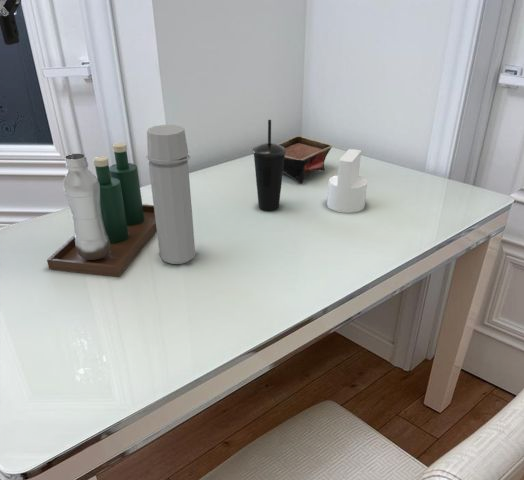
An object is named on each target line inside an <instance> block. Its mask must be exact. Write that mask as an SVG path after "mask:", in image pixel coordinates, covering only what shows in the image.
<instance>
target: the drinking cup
mask: <svg viewBox="0 0 524 480" xmlns="http://www.w3.org/2000/svg"><path fill="white" fill-rule="evenodd" d="M278 144H279V143H275V142H274V143H272V119H268V120H267V142H266V143H261V144H259V145H256V146H254V147H252V150H251V151H252V154H253V162H254V169H255V181H256V193H257V204H258V209H259V210H261V211H264V212H274V211H277V210H279V208H280V202H281V201H280V199H281V191H282V183H283V174H284V172H283V166H284V157H285V154H286V148H284V147H282V146H280V145H278Z"/></svg>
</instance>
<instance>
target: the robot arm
mask: <svg viewBox="0 0 524 480" xmlns="http://www.w3.org/2000/svg"><path fill="white" fill-rule="evenodd" d="M21 3H22V0H0V14H1V15H0V30H1V34H2V38H3V42H4V44H5V45H7V46H11V45H15V44H18V43H20V38H19V36H20V35H19V29H18V25H17V20H16V17H15V15H17V13H18V8H19V6H20V5H21Z"/></svg>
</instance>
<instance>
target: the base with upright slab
mask: <svg viewBox="0 0 524 480" xmlns="http://www.w3.org/2000/svg"><path fill="white" fill-rule="evenodd" d="M361 157H362V150H360V149H354V148H348V149H347V151H346V152H345V153H344V154H343V155H342V156H341V157H340V158H339V160H338V171H337V174H336V175H333V176H331V177H330V178H329V179H328V188H327V202H326V204H327V205H326V206H327V207H328V208H329V209H330V210H332V211H334V212H336V213H337V212H338V213H343V214H353V213H358V212H361V211H363V210H364V209H365V205H366V199H367V198H366V197H367V188H368V180H367V179H366V178H365V177H363V176H360V167H361Z"/></svg>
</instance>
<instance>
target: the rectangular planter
mask: <svg viewBox="0 0 524 480" xmlns="http://www.w3.org/2000/svg"><path fill="white" fill-rule="evenodd" d="M277 144H278V145H280V146H282V147H284V148H286V154H285V157H284V166H283V174H286V175H287V176H289V177H290V178H292V179H294V180H295V181H297V182H298V183H299V184H303V182H304V180H305V179H306V178H307V176H308V175H310V173H311V172H312V171H322V172H325V161H326V159H327V156H328V154H329V152H330V151H331V149H332V148H333V146H332V144H330V143H327V142H325V141H321V140H318V139H314V138H310V137H306V136H302V135H295V136H293V137H291V138H289V139H287V140H284V141H282V142H279V143H277Z"/></svg>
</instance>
